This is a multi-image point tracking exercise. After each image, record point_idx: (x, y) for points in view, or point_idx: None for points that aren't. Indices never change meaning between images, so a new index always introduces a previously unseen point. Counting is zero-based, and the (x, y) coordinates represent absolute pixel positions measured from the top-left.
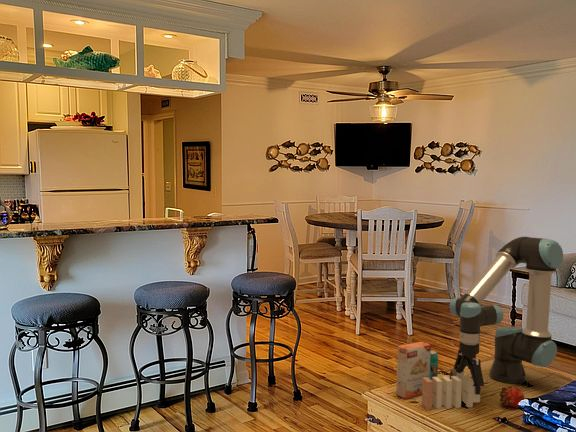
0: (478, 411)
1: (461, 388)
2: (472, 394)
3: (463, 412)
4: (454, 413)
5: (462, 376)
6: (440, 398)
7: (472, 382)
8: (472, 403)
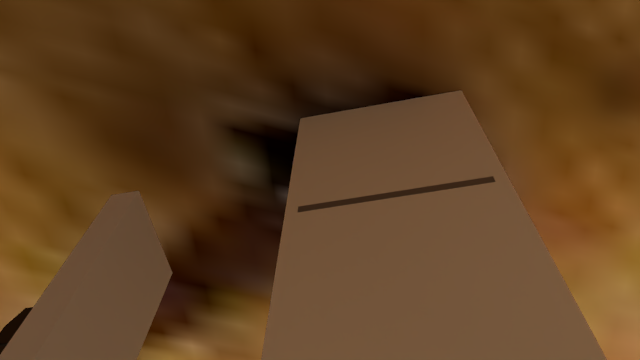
0: (599, 55)
1: (148, 220)
2: (503, 178)
3: (597, 229)
4: (605, 312)
5: (63, 357)
6: None
7: (582, 339)
8: (472, 113)
